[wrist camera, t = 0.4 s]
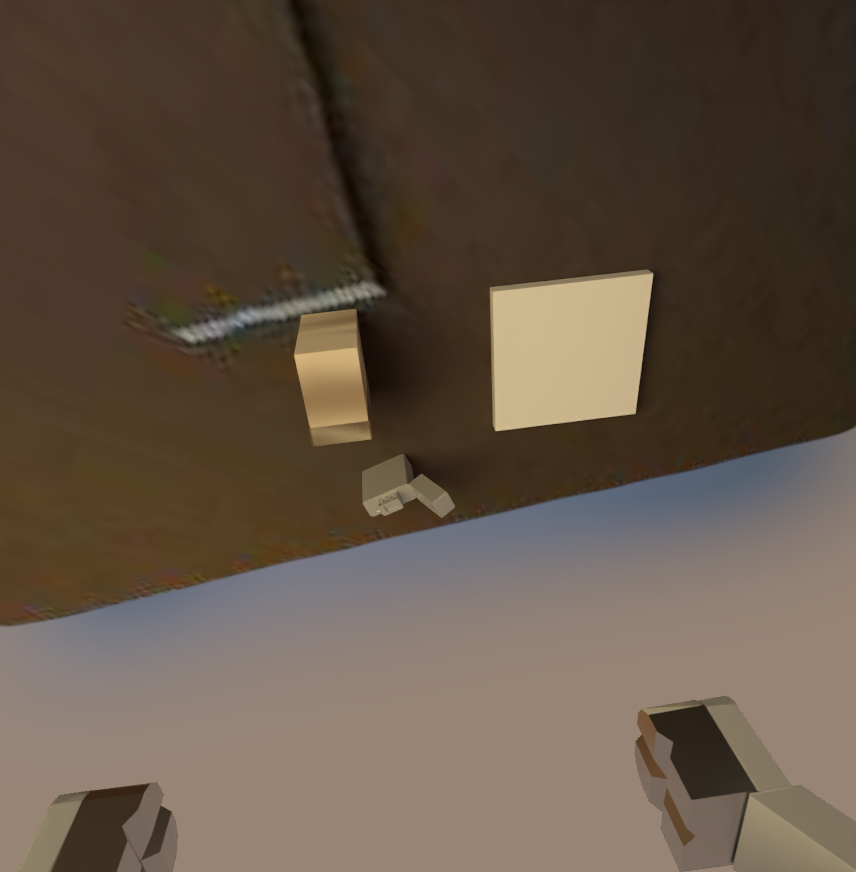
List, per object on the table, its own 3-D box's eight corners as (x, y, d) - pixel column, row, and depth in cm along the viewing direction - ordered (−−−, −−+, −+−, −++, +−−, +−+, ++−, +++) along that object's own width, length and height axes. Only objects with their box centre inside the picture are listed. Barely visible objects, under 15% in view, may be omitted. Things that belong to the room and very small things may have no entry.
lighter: (370, 486, 53) (373, 548, 46) (361, 471, 52) (362, 533, 45) (443, 454, 52) (457, 513, 45) (435, 439, 51) (448, 497, 44)
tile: (489, 287, 44) (492, 291, 43) (647, 269, 45) (653, 273, 44) (492, 425, 51) (495, 431, 50) (630, 407, 51) (635, 413, 50)
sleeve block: (300, 315, 44) (292, 355, 38) (357, 308, 44) (358, 347, 38) (317, 398, 48) (312, 446, 42) (369, 392, 48) (372, 438, 42)
